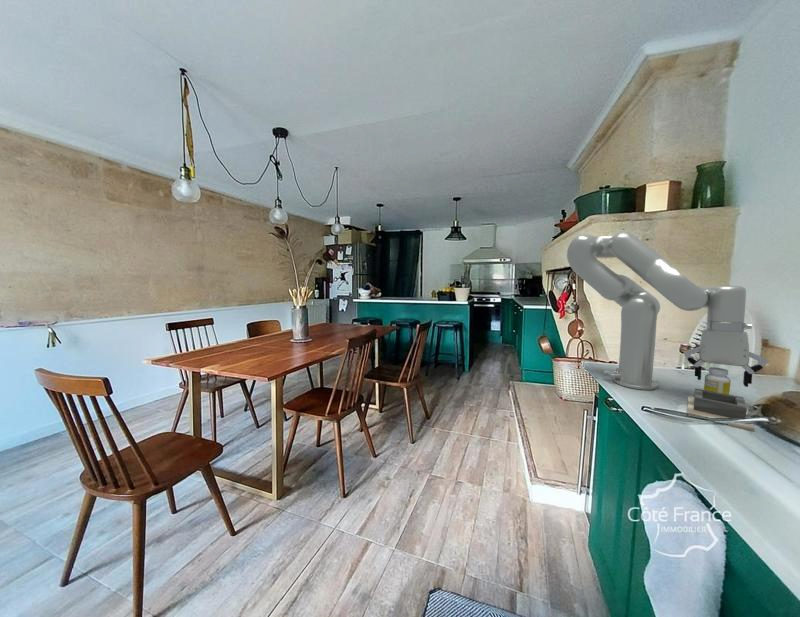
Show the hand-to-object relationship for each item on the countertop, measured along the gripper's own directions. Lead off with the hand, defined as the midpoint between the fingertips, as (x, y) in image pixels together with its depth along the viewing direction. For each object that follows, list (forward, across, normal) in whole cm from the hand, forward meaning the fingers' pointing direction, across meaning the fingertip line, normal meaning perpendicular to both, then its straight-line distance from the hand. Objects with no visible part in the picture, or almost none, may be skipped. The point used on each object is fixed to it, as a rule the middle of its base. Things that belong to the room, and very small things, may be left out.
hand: (721, 382), depth 90 cm
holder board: (+6, +1, +12) cm, 13 cm away
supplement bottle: (+6, +1, 0) cm, 6 cm away
